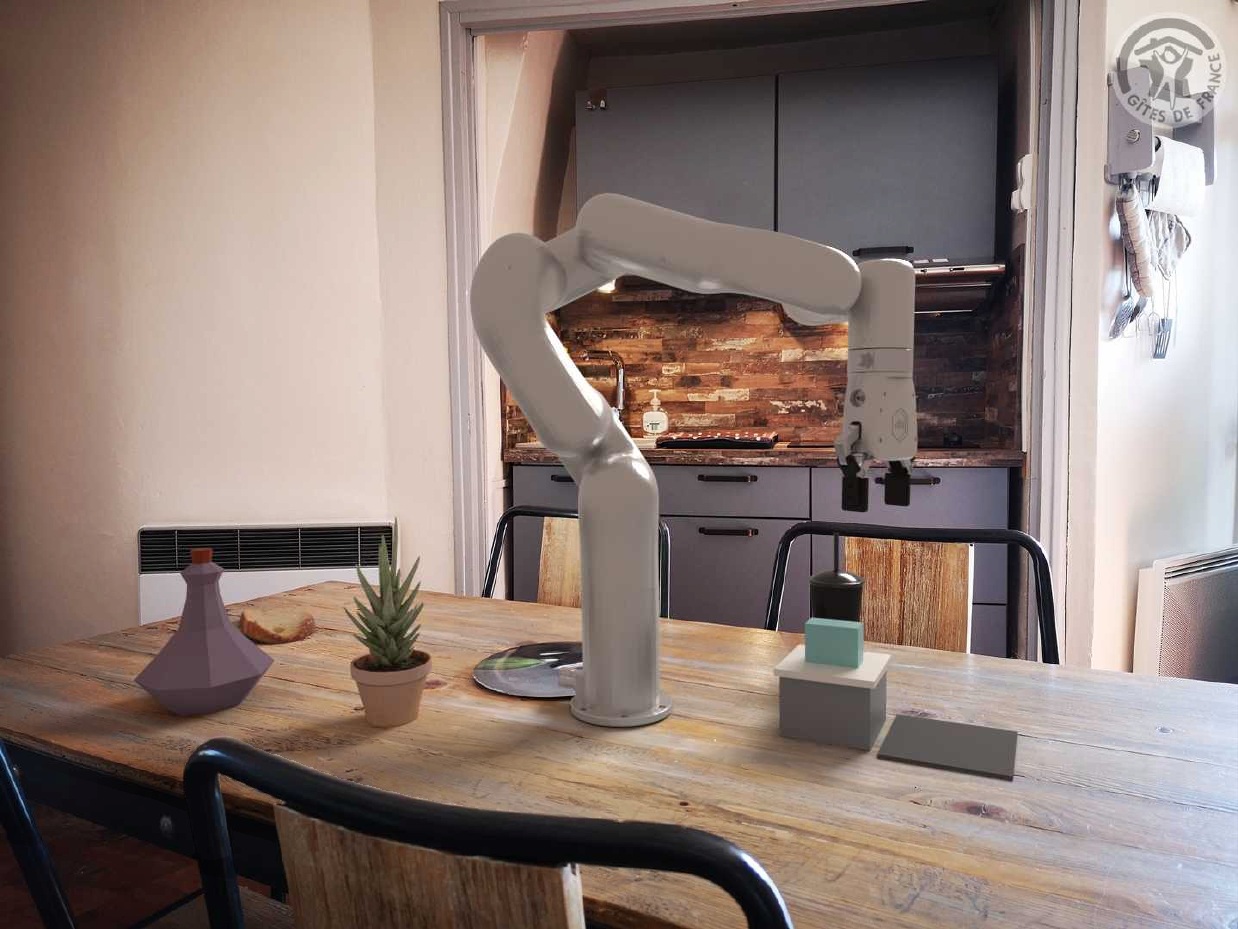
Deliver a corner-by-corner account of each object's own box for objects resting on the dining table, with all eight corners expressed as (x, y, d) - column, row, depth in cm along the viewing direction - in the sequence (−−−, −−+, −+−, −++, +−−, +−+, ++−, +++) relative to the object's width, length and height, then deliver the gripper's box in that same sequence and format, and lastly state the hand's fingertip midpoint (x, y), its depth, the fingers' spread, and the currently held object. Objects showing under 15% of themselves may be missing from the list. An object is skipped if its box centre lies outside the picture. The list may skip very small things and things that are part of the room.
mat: (877, 757, 89) (877, 753, 89) (896, 717, 101) (896, 714, 101) (1012, 780, 83) (1012, 776, 83) (1017, 734, 95) (1017, 731, 95)
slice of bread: (252, 618, 157) (251, 598, 156) (343, 620, 154) (343, 600, 154) (190, 644, 139) (189, 622, 139) (292, 647, 136) (291, 624, 136)
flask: (302, 687, 115) (297, 541, 114) (214, 731, 99) (207, 562, 98) (202, 678, 120) (196, 538, 118) (103, 719, 104) (94, 558, 103)
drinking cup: (867, 687, 112) (867, 537, 111) (808, 684, 114) (808, 536, 112) (862, 670, 119) (863, 529, 118) (807, 667, 121) (807, 528, 120)
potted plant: (403, 737, 97) (397, 523, 95) (335, 727, 100) (328, 520, 99) (450, 708, 106) (445, 512, 105) (386, 700, 109) (380, 510, 108)
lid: (773, 684, 95) (773, 629, 95) (799, 658, 105) (799, 608, 104) (874, 698, 90) (874, 640, 90) (891, 669, 100) (891, 617, 99)
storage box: (779, 735, 96) (779, 675, 95) (802, 708, 104) (802, 652, 104) (870, 750, 91) (870, 687, 91) (886, 720, 100) (886, 662, 100)
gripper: (869, 361, 93) (866, 517, 94) (943, 367, 104) (939, 505, 105) (811, 364, 98) (808, 511, 99) (888, 369, 110) (885, 501, 111)
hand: (876, 508), depth 102 cm, fingers open, 9 cm apart
